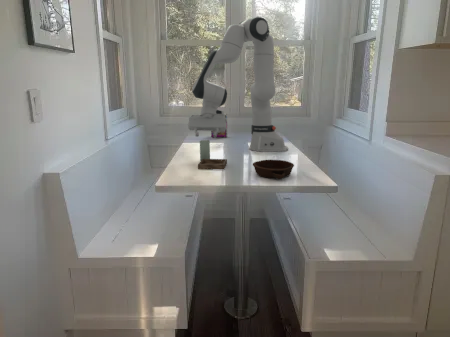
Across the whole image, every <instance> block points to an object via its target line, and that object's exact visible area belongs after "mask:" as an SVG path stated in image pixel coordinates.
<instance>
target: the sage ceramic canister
mask: <svg viewBox="0 0 450 337" xmlns="http://www.w3.org/2000/svg"><path fill="white" fill-rule="evenodd" d="M210 144H211V142H210V140H209V139H208V140H207V139H201V140H199V160H200V161H201V160H202V159H211V145H210Z"/></svg>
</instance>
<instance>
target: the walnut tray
mask: <svg viewBox="0 0 450 337" xmlns="http://www.w3.org/2000/svg"><path fill="white" fill-rule="evenodd" d="M226 164H228V159H225V158H221V159H220V158H210V159H202V160H201V161H200V162H198V164H197V170H213V169H224V168H226V167H225V166H227V165H226ZM224 170H225V169H224Z"/></svg>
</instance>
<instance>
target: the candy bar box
mask: <svg viewBox="0 0 450 337" xmlns="http://www.w3.org/2000/svg"><path fill="white" fill-rule="evenodd" d="M224 114H225V119H226V130H225V131H219V133H218V134H217V137H216V138H228V113H224ZM214 132H216V131H211V133H210V135H211V138H215V137H214V136H213V134H214Z"/></svg>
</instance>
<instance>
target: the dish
mask: <svg viewBox="0 0 450 337" xmlns="http://www.w3.org/2000/svg"><path fill="white" fill-rule="evenodd" d="M252 166H253V168H254V171H255V173H256V175H258V176H259V177H263V178H268V179H269V178H270V179H276V180H283V179H284V178H287V177H289V176H290V175H291V173H292V170H293V168H294V167H295V164H294V163H292V162H290V161H287V160H282V159H263V160H258V161H254V162H253V163H252Z"/></svg>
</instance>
